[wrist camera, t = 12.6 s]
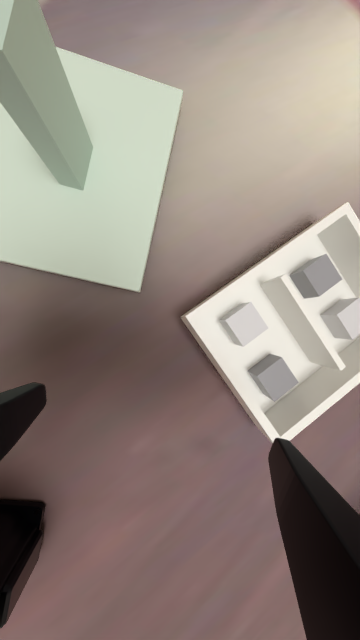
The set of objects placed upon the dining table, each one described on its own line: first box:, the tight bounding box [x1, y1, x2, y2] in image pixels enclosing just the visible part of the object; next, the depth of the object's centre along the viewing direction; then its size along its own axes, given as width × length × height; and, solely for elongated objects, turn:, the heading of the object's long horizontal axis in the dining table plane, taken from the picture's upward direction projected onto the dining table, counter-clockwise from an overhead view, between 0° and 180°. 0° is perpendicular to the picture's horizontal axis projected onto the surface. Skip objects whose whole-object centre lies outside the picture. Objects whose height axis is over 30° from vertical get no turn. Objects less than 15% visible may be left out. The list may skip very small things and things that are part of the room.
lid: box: [0, 0, 183, 293], centre depth 14 cm, size 15×19×11 cm
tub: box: [180, 202, 360, 444], centre depth 19 cm, size 14×18×4 cm
